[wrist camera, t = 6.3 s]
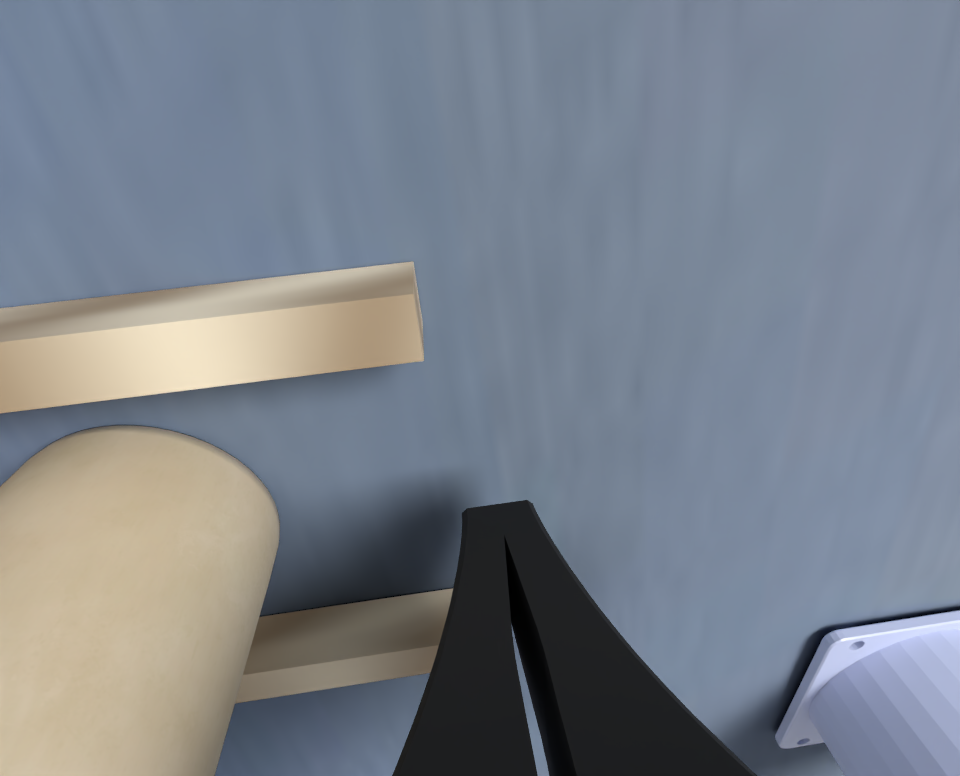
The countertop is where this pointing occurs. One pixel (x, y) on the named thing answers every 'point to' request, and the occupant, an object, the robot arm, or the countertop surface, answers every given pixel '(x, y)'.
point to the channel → (234, 360)
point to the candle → (127, 602)
